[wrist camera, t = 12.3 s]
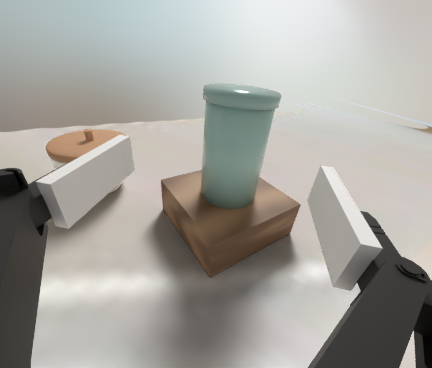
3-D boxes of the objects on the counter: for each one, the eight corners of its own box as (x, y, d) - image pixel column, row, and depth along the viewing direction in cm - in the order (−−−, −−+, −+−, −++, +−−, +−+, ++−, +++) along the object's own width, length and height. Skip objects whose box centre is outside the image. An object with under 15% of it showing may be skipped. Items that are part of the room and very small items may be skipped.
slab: (163, 208, 31) (161, 179, 28) (232, 186, 38) (235, 161, 35) (210, 277, 22) (213, 245, 20) (289, 233, 29) (300, 204, 26)
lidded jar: (122, 207, 31) (109, 147, 26) (46, 203, 30) (18, 140, 25) (143, 171, 40) (137, 122, 35) (85, 167, 39) (71, 117, 34)
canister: (187, 184, 28) (189, 83, 21) (233, 172, 32) (246, 84, 25) (220, 218, 23) (235, 99, 16) (269, 199, 27) (297, 96, 20)
